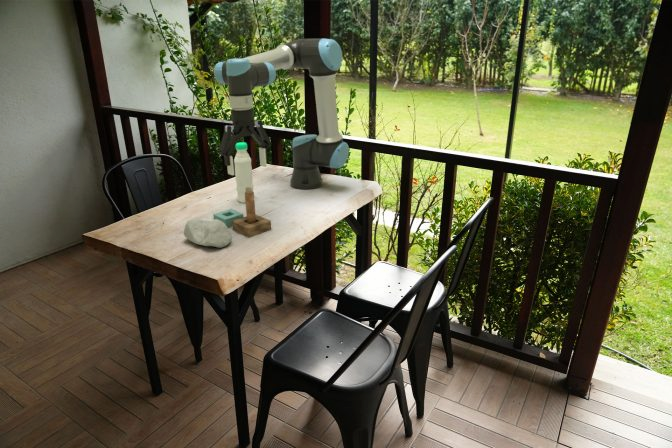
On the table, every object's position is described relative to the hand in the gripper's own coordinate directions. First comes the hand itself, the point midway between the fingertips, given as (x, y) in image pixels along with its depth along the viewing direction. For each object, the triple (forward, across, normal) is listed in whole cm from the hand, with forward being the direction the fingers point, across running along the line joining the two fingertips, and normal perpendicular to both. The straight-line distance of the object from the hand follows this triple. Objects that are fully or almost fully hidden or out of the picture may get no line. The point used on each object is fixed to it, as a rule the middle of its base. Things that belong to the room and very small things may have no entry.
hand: (247, 170), depth 163 cm
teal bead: (+22, -3, +12) cm, 26 cm away
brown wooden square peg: (+22, -1, 0) cm, 23 cm away
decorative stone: (+23, -18, +2) cm, 29 cm away
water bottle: (+23, +16, +28) cm, 40 cm away
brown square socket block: (+22, -1, 0) cm, 23 cm away
